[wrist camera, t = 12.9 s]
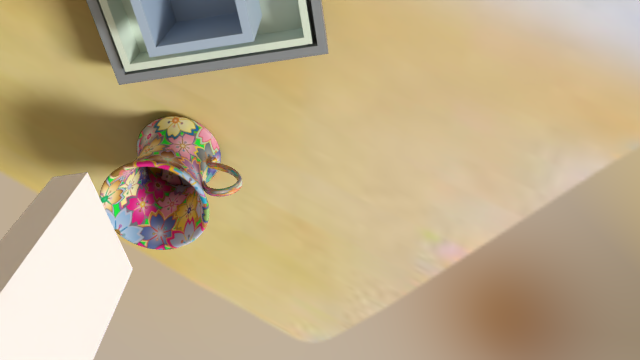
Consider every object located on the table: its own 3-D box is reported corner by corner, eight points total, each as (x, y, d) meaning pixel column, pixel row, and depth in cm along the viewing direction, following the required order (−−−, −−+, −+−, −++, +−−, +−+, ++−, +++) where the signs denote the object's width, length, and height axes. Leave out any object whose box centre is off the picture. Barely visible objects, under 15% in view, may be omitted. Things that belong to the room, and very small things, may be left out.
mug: (151, 191, 55) (120, 255, 46) (123, 114, 50) (82, 169, 41) (258, 178, 54) (248, 241, 45) (241, 100, 49) (226, 153, 40)
